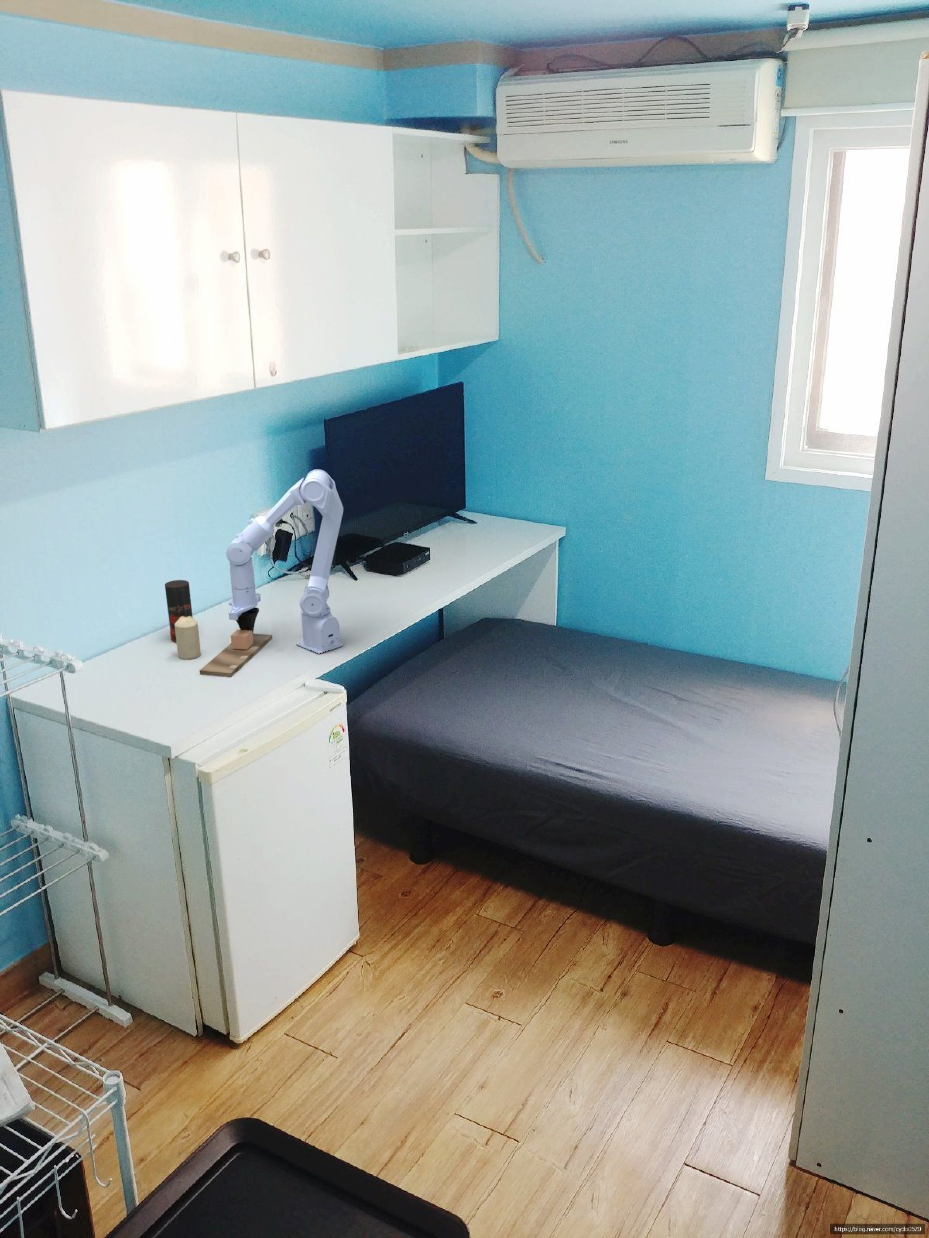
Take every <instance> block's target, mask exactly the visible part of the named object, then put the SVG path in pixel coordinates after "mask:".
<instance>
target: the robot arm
mask: <svg viewBox="0 0 929 1238" xmlns="http://www.w3.org/2000/svg"><path fill="white" fill-rule="evenodd" d="M306 503H308V504H309V505H312V506H313V507H315V508H316V510H317V511H318V512H319V513H320V515H321V516H322V518H321V519H322V520H321V523H320V528H319V532H318V537H317V543H316V547H315V551H314V555H313V556H314V557H313V559H312V560H313V561H312V566H311V570H310V576H309V579H308V582H307V584H306V586H305V588H304V591H303V595H302V596H301V598H300V601H299V607H300V609H301V610H300V613H301V616H300V617H301V626H302V627H301V629H302V631H301V632H302V640H300V641H297V642H296V646H298V647H301V648H303V649H305V648H306V650H308V651H310V650H312V651H311V652H313V651H314V652H313V653H315V652H316V654H317V653H318V655H320V653H321V654H324V653H326V652H329V651H332V650H335V649H337V648H340V647H343V646H344V643H342V642H341V633H340V631H341V629H340V623H339V619H337V618H336V617H335V616H333V614H332V613H331V607H330V606H329V605H328V603H327V601H328V599H329V598H330V590H329V586H328V584H329V578H330V573H331V568H332V564H333V560H334V555H335V550H336V546H337V540H338V536H339V532H340V528H341V523H342V518H343V514H344V506H343V503H342V500H341V498H340V496H339V492H338V491H337V488H336V483H335V480H334V479H332V477H331V476H330V475H329V474H328V472H327V471H325V470H323V469H313V470H311V471H309V472H308V473H307V474H306V476H305V477H302V478H301V479H299V481H297V482H296V483H295V484H294V485H293V486H291V487H290V488H289V489H288V490H287V492H286V493H285V494H284V495H283V496H282V497H281V498H280V499H279V500H278V501H277V502H276V503H275V505H274V506H273V507H272V508H271V509H270V510H269V511H268V512H267V513H266V514H265V515H261V516H256V517H255V518H253V517H251V519H249V520H248V522H247V523H248V525H247V526H246V527H245V528H244V529H243V530H242V531H241V532H238V533H236V535H235V538H234V539H233V540H232V541H231V542H230V544H229V545H228V547H227V548H226V552H225V553H226V554H225V555H226V558H227V561H228V562H229V574H230V575H229V576H230V584H231V596H232V597H231V598H232V600H231V601H229V602H228V605H229V606H230V607H231V608H230V610H229V612H228V619H229V620H230V621H236V623H237V625H238V627H239V630H250V631H252V633H254V630H255V624H256V620H257V617H258V614H259V612H260V608H259V607H258V603H259V602H261V600H262V599H261V593H257V592H256V583H255V571H254V569H255V568H254V566H253V557H252V556H253V554H254V552H257V551H258V550H259V549H260V548H261V547H262V546H263V545H264V544H265V543H266V542H267V541H268V540H269V539H270V538H271V537H272V536H273V535H274V534H275V525H276V524H277V523H278V522H279V521H281V519H283V517H284V516H285V515H287V514H288V513H289V512H290V511H291V510H292V509H293V508H295V506H303V505H306ZM328 650H329V651H328ZM325 651H326V652H325ZM323 652H324V653H323Z"/></svg>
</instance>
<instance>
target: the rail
mask: <svg viewBox="0 0 929 1238" xmlns="http://www.w3.org/2000/svg"><path fill="white" fill-rule="evenodd" d="M272 640H273V634H264V633H254V632H253V645H251V646H250V647H249V648H248V649H247V650H245V649H233V648H232V644H231V643H230V644H228V645H227V646H226V647H225V648H224V649H223V650H221V651H220V652H219V653H218V654H217V655H216V656H214V657H213V658H212V659H211V660H210V661H208V662H207V663H206V664H205V665H204V666H203V667H202V668H201V669H199V671H198V672H199V675H203V676H215V677H216V676H217V677H227V678H232V677H234V675H235V674H236V673H237V672H238V671H239V670H241V669H242V668H243V667H244V666H245V665H246V664H247V663H248V662H249V661H250V660H252V659H253V657H255V656H256V655H257V654H258V653H259V652H260V651H261V650H262V649H263V648H265V646H266V645H267V644H268V643H269V642H271V641H272Z"/></svg>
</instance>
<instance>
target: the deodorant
mask: <svg viewBox="0 0 929 1238" xmlns="http://www.w3.org/2000/svg"><path fill="white" fill-rule="evenodd" d="M164 588H165V591H164V592H165V597H166V598H165V599H166V606H167V616H168V624H169V631H170V632H169V633H170V638H171V639H170V641H171V640H172V641H173V642H172V641H171V642H172V643H175V644H177V642H176V633H175V623H176V622H177V621H178V619H179V618H180V617H182V616H183V617H188V616H191V617H192V618H193V619H194V617H193V608H192V599H191V590H190V582H189V581H188V580H185V579H176V580H175V579H174V580H170V581H167V582H165V583H164Z"/></svg>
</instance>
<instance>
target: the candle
mask: <svg viewBox="0 0 929 1238" xmlns="http://www.w3.org/2000/svg"><path fill="white" fill-rule="evenodd" d="M198 622H199V621H197V620H196V619H195V618H194V617H193V618H192V617H191V616H188V617H183V616H182V617H180V618H179V619H178V621H177V622H176V623H175V633H176V642H177V643H176V649H177V656H178V658H179V659H181V660H194V659H197V658H199V657H200V656H201V654H202V652H201V642H200V633H199V623H198Z"/></svg>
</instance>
